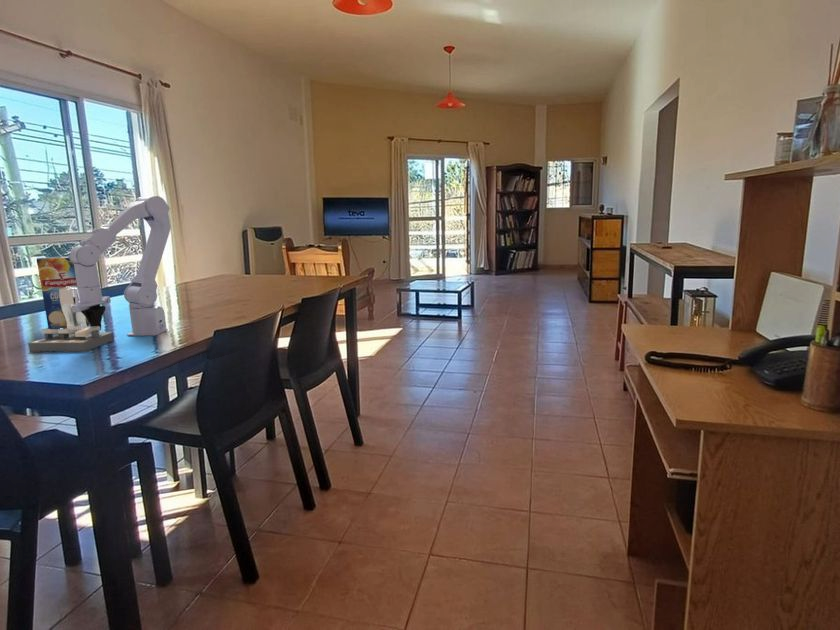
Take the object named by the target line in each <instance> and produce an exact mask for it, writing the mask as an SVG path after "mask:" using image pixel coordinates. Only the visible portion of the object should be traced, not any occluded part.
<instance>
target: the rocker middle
mask: <svg viewBox="0 0 840 630" xmlns="http://www.w3.org/2000/svg"><path fill="white" fill-rule="evenodd" d="M57 330H58V333H63V334H75V331H78V330H77V329H67V328H65V329H57Z"/></svg>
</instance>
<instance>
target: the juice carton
mask: <svg viewBox="0 0 840 630" xmlns="http://www.w3.org/2000/svg"><path fill="white" fill-rule="evenodd" d="M68 256H69V255H65V256H64V255H63V256H51V257H50V256H49V257H46V256H45V257H37V258H36V259H35V260H36V263H37V269H38V275H39V280H40V281H39V282H40V287H41V294H42V300H43V305H44V310H45V316H46V322H47V323H46V324H47V329H57V330H58V329H60V328H65V329H67V323H66V319H65V316H64V314H63V311H62V308H61V304H60V298H59V288H63V287H71V286H77V281H76V275H75V268H74V264H73V263H72V262H71V261H70V259H69V257H68ZM85 319H86V324H87V327H88V325H90V323H89V321H88V320H87V318H86V317H85Z"/></svg>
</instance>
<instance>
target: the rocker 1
mask: <svg viewBox="0 0 840 630" xmlns="http://www.w3.org/2000/svg"><path fill="white" fill-rule="evenodd" d="M40 333H41V334H43V335H45V334H53V335H55V334H58V329H48V328H42V329H41V331H40Z"/></svg>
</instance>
